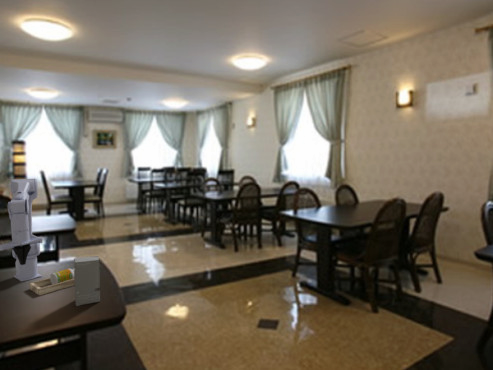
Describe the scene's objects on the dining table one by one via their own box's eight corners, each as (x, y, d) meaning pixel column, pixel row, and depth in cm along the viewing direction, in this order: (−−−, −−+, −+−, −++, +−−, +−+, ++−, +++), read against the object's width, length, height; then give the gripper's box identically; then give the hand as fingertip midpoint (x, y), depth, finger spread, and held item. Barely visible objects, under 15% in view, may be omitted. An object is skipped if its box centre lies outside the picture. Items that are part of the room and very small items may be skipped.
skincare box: (75, 306, 120) (73, 263, 118) (75, 299, 126) (72, 257, 125) (101, 301, 124) (99, 259, 122) (100, 294, 130) (97, 254, 128)
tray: (29, 289, 136) (29, 283, 135) (79, 275, 151) (78, 269, 151) (39, 295, 129) (39, 289, 129) (90, 280, 144) (89, 274, 144)
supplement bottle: (57, 277, 136) (80, 270, 144) (50, 271, 139) (73, 264, 147) (55, 288, 137) (79, 281, 145) (49, 282, 140) (72, 275, 148)
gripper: (1, 235, 125) (4, 271, 126) (44, 228, 136) (46, 261, 137) (-5, 232, 129) (-2, 267, 130) (37, 226, 140) (39, 258, 142)
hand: (22, 264), depth 134 cm, fingers closed
